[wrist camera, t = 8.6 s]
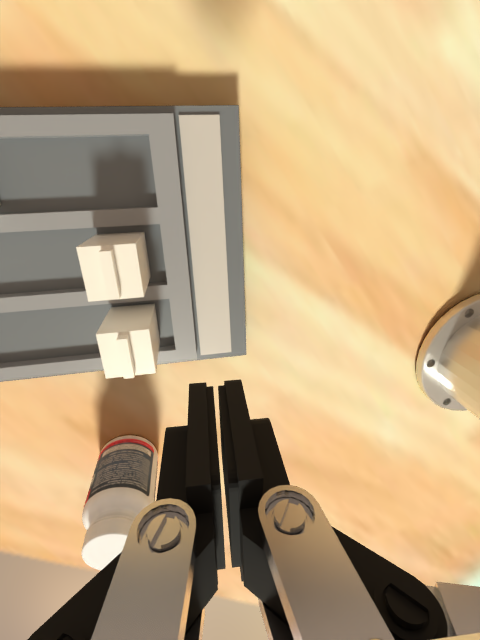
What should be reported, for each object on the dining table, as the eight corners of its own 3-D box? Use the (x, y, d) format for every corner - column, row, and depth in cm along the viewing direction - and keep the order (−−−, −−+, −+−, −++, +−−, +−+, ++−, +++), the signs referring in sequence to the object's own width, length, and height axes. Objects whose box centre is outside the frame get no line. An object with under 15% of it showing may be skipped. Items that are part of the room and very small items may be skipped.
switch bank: (233, 111, 22) (240, 102, 19) (242, 343, 28) (248, 359, 26) (-192, 116, 19) (-252, 106, 16) (-71, 376, 25) (-99, 398, 23)
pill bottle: (91, 442, 30) (57, 539, 22) (148, 426, 30) (136, 517, 22) (111, 483, 32) (87, 585, 24) (165, 468, 32) (159, 564, 24)
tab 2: (154, 303, 24) (148, 333, 19) (160, 341, 25) (155, 378, 20) (110, 307, 23) (93, 338, 19) (118, 345, 24) (103, 384, 20)
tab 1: (144, 231, 22) (134, 245, 17) (150, 276, 23) (142, 300, 18) (96, 234, 21) (72, 249, 17) (105, 279, 23) (85, 305, 18)
